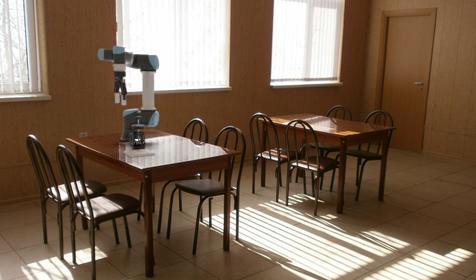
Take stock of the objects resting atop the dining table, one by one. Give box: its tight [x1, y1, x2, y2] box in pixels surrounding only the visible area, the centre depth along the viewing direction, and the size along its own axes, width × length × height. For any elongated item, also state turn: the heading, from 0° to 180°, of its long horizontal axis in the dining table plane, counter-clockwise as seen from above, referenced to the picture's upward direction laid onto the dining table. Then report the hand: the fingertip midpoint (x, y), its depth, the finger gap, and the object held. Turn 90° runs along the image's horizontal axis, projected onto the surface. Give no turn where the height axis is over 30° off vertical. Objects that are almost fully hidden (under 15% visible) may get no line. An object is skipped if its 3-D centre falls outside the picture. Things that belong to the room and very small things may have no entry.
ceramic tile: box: [123, 148, 156, 158], centre depth 306 cm, size 14×16×2 cm
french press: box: [129, 116, 147, 150], centre depth 317 cm, size 12×9×23 cm
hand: (120, 104), depth 300 cm, fingers open, 13 cm apart
